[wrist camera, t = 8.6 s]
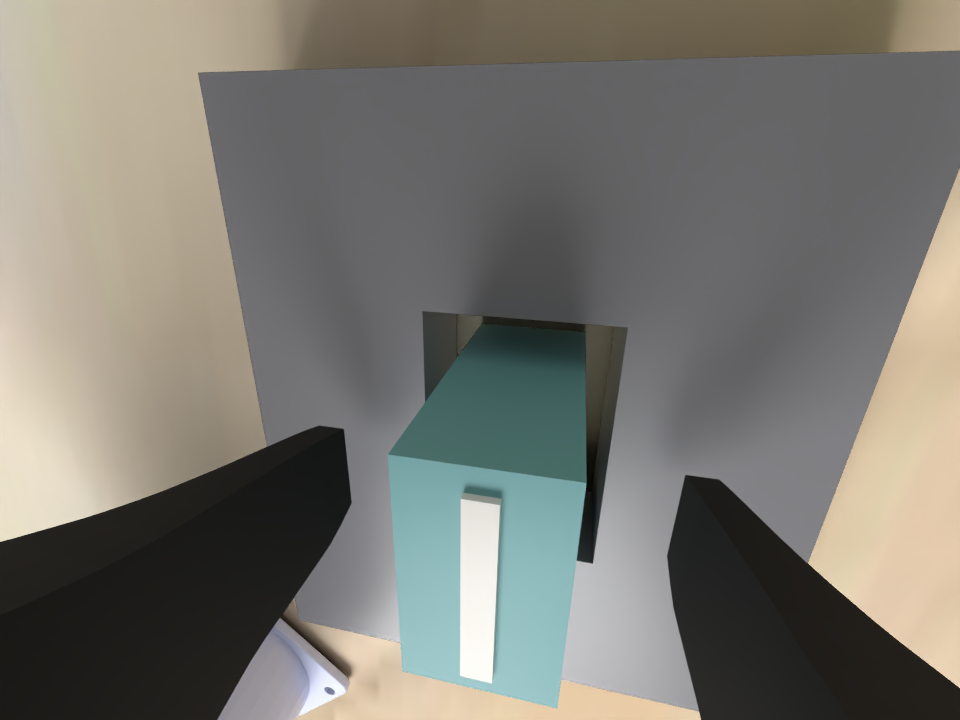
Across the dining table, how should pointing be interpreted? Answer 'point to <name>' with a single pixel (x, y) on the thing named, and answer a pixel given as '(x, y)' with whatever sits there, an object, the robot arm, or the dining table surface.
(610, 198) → the keyed socket
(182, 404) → the dining table surface
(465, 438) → the keyed peg
